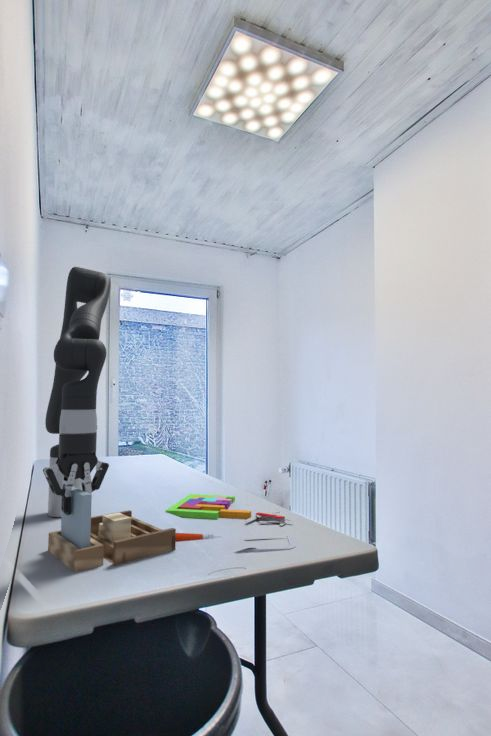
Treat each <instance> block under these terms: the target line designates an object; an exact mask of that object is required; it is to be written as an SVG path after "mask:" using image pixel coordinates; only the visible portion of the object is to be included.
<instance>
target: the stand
mask: <svg viewBox="0 0 491 736" xmlns="http://www.w3.org/2000/svg"><path fill="white" fill-rule="evenodd" d="M47 540H48V541H47V542H48V543H47V551H48V553H50V554H52V555H53V556H54V557H55V558H57V559H58V560H59V561H60V562H62V563H63V564H64V565H65V566H67V568H69V569H70V570H72V572H74V573H78V572H82V571H85V570H89V569H93V568H96V567H100V566H104V558H103V556H104V545H103V544H101V543H99V542H98V541H96V540H94V539H92V538H91V537H90V547H86V548H82V549H79V548H78V547H76V546H75V545H73V544H72V543H71V542H69V541H68V540H66V539H65V538H63V537H62V536H61V529H60V530H56V531H55V530H54V531H50V532H48V539H47Z"/></svg>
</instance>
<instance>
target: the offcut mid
mask: <svg viewBox="0 0 491 736" xmlns="http://www.w3.org/2000/svg"><path fill="white" fill-rule="evenodd" d="M102 524H103V523H99V534H101V535H103V536H104V537H106V538H108V539H110V540H112V541H113V542H114V541H117V540H121V539H126V538H130V537H131V528H127V529H122V530H118V531H112V530H110V529H109V528H107V527H105V526H103V525H102Z"/></svg>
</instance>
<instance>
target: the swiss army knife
mask: <svg viewBox="0 0 491 736" xmlns="http://www.w3.org/2000/svg"><path fill="white" fill-rule="evenodd" d="M279 513H280V511H274V512H266V513H263V512H260V511H259V512H256V513H255V515H254V516H251V518H249V519H244V522H250V521H252V520H255V521H258V523H271V524H277V525H279V526H281V527H282V526H284V525H285V524H286V521H288V522H293V520H292V519H289V518H286V517H285V516H284V515H283V516H282V515H277V514H279Z"/></svg>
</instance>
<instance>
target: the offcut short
mask: <svg viewBox="0 0 491 736" xmlns="http://www.w3.org/2000/svg"><path fill="white" fill-rule="evenodd" d="M113 513H114V514H112V513H108V515H106V514H102V515H103V524H102V525H103V526H105V527H107V528H109V529H110V530H112V531H118V530H122V529H127V528H131V517H128V516H126V515H124V514H121V513H117V512H113Z"/></svg>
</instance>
